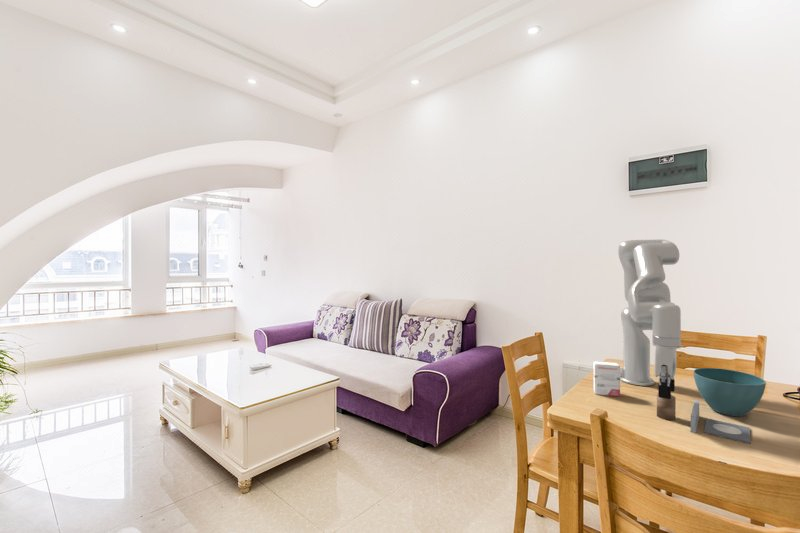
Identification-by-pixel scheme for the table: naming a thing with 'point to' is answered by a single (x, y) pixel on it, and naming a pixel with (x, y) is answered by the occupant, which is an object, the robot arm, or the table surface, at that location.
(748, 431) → the mat
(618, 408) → the table surface
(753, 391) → the teal bowl
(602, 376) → the ink box
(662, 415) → the walnut block
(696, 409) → the divider wall
